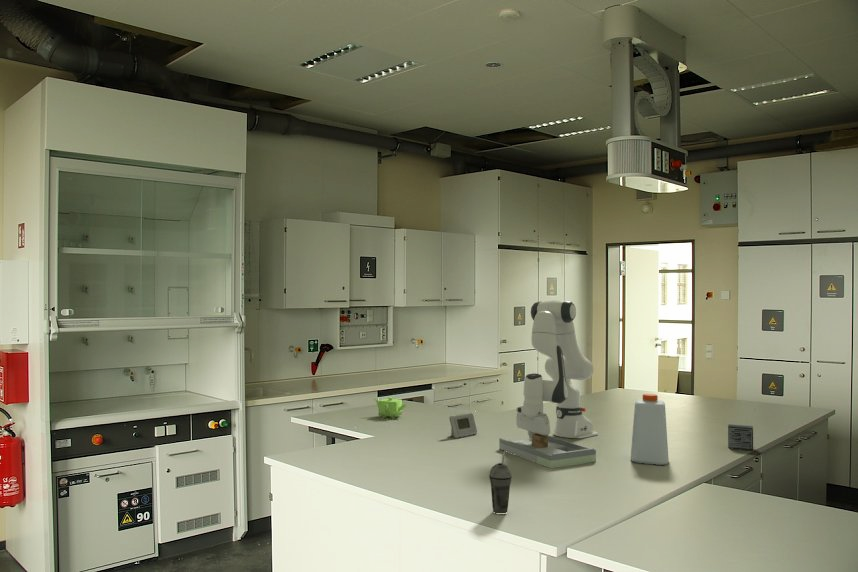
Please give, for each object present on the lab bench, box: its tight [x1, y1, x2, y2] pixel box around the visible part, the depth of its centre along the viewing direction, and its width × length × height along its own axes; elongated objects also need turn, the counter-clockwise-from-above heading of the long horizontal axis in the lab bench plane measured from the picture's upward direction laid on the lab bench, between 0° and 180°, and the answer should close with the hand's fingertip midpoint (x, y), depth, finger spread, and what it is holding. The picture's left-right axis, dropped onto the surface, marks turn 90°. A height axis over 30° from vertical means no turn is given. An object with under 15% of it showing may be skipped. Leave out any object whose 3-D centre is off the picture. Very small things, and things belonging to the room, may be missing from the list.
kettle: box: [373, 396, 408, 420], centre depth 373 cm, size 15×14×11 cm
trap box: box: [498, 435, 597, 469], centre depth 288 cm, size 24×36×6 cm, turn 29°
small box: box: [727, 423, 754, 452], centre depth 306 cm, size 11×6×10 cm, turn 65°
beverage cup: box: [488, 450, 513, 513], centre depth 211 cm, size 7×7×20 cm
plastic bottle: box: [630, 393, 669, 466], centre depth 281 cm, size 15×15×28 cm
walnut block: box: [532, 434, 549, 448], centre depth 291 cm, size 5×5×5 cm
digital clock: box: [449, 412, 478, 439], centre depth 326 cm, size 16×9×11 cm, turn 122°
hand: (532, 441), depth 295 cm, fingers closed
